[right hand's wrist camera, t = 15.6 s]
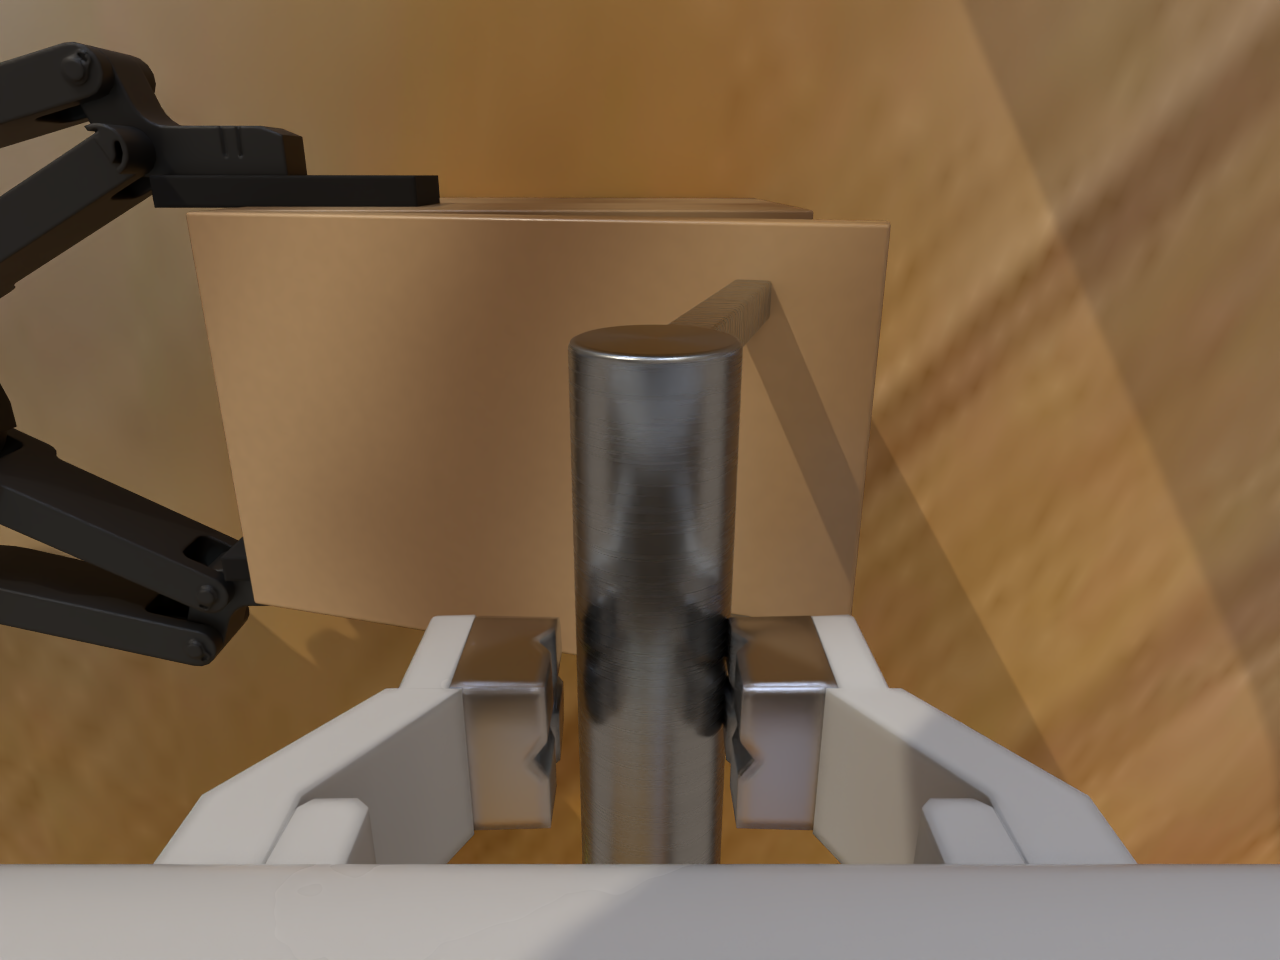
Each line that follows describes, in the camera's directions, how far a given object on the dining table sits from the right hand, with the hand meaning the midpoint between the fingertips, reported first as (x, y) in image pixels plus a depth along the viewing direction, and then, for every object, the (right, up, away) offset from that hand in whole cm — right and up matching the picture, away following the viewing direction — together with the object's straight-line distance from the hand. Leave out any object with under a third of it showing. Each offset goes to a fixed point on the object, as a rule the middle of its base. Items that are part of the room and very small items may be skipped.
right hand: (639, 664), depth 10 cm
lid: (-3, +3, +9) cm, 10 cm away
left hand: (-6, +5, +14) cm, 15 cm away
